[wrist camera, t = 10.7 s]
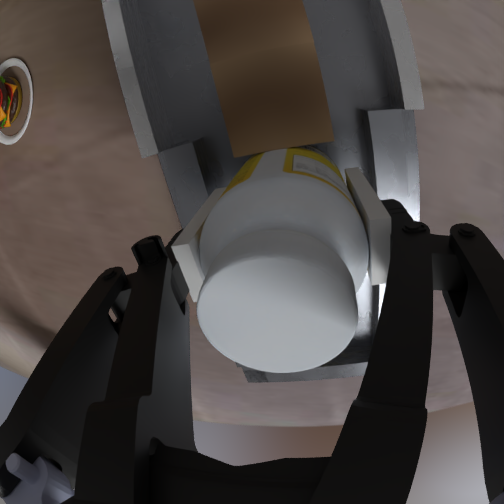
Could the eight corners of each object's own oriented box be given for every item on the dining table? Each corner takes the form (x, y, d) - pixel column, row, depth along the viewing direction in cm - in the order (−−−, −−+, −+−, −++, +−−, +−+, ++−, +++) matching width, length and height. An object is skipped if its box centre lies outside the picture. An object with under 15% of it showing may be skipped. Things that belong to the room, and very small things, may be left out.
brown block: (210, 1, 13) (188, -17, 10) (290, -17, 12) (287, -42, 8) (228, 68, 15) (210, 64, 12) (310, 52, 14) (314, 41, 11)
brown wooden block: (228, 68, 15) (209, 63, 12) (310, 52, 14) (313, 41, 11) (247, 143, 18) (234, 157, 14) (327, 130, 17) (334, 140, 13)
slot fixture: (116, -24, 12) (92, -33, 9) (351, -83, 8) (357, -104, 5) (238, 362, 30) (232, 387, 27) (403, 348, 25) (409, 373, 23)
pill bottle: (235, 227, 20) (171, 367, 10) (244, 130, 17) (156, 199, 7) (331, 244, 19) (346, 398, 10) (353, 149, 16) (426, 248, 6)
